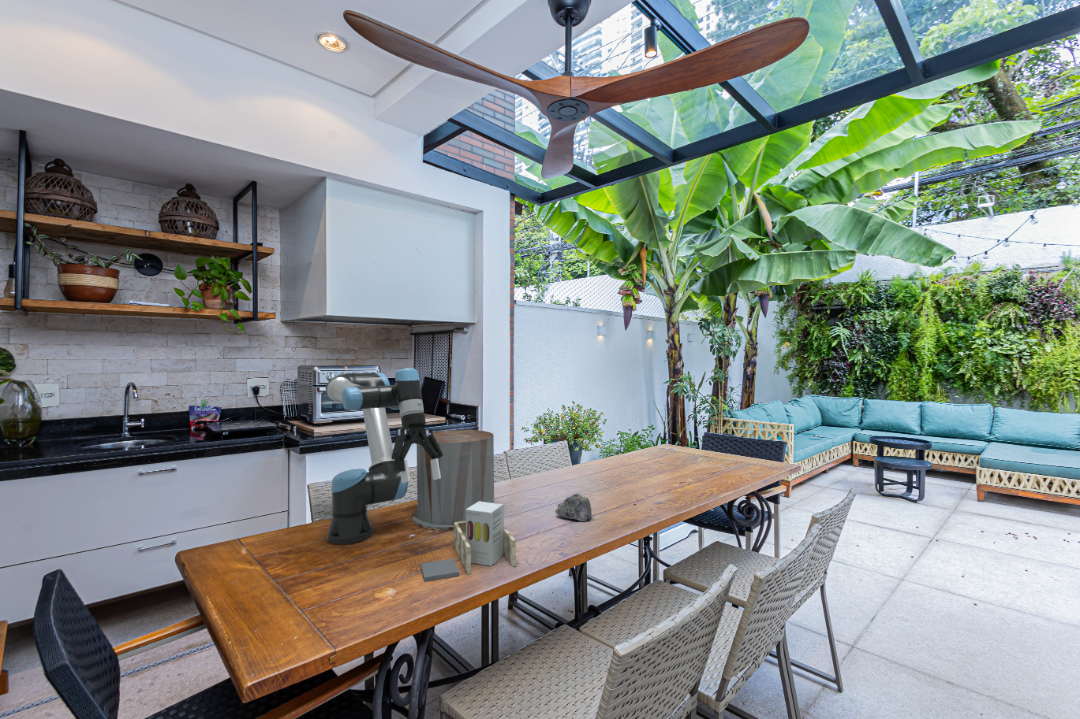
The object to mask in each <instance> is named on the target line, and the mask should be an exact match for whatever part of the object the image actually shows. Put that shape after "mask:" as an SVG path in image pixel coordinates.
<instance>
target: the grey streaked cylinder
mask: <svg viewBox="0 0 1080 719" xmlns="http://www.w3.org/2000/svg"><path fill="white" fill-rule="evenodd" d="M433 435H434V437H435V439H436V441H437V443H438V445H439V447H440V449H441V451H442V453H443V456H441V458H439V463H440V468H439V469H440V475H441V478H440V479H437V480H433V475H432V469H431V462H430V460H432V458H431V457H430V456H429V454H428V453H427V452H426V451H425V449H424V448H423V447H422V445H419V444H416V490H417V491H416V495H417V496H416V498H417V501H416V505H417V506H416V507H417V508H416V509H415V510H414V511H413V512H412V515H411V520H413V521H412V523H413V522H414V523H415V524H414V523H413V524H414V525H416V524H417V525H418V526H417V525H416V526H417V527H419V526H421V527H420V528H422V527H424V528H423V529H425V528H431V529H440V530H454V522H460V521H466V509H467V508H469V507H470V506H472V505H474V504H475V503H477V502H479V501H481V502H488V503H495V464H494V463H495V456H494V453H495V452H494V451H495V450H494V448H495V447H494V445H495V444H494V440H495V439H494V433H493V432H490V431H487V430H479V429H447V430H436V431H433ZM423 441H424V440H423Z"/></svg>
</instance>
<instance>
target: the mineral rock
mask: <svg viewBox="0 0 1080 719" xmlns="http://www.w3.org/2000/svg"><path fill="white" fill-rule="evenodd" d="M591 505H592V504H591V501H590V499H589V498H588V497H587V496H582V495H581V494H580V493H575V494H572V495H570V496H569V497H567V498H565V499H564V500H563V502H561V503H558V504H557V508H556V509H555V510H554V512H555V514H556V515H557V516H559V517H561V518H564V519H569V520H574V521H575V520H577V521H579V522H580V521H582V522H588V521H590V520H591V519H592V516H593V514H592V506H591ZM590 518H591V519H590ZM589 519H590V520H589ZM587 520H588V521H587Z"/></svg>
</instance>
